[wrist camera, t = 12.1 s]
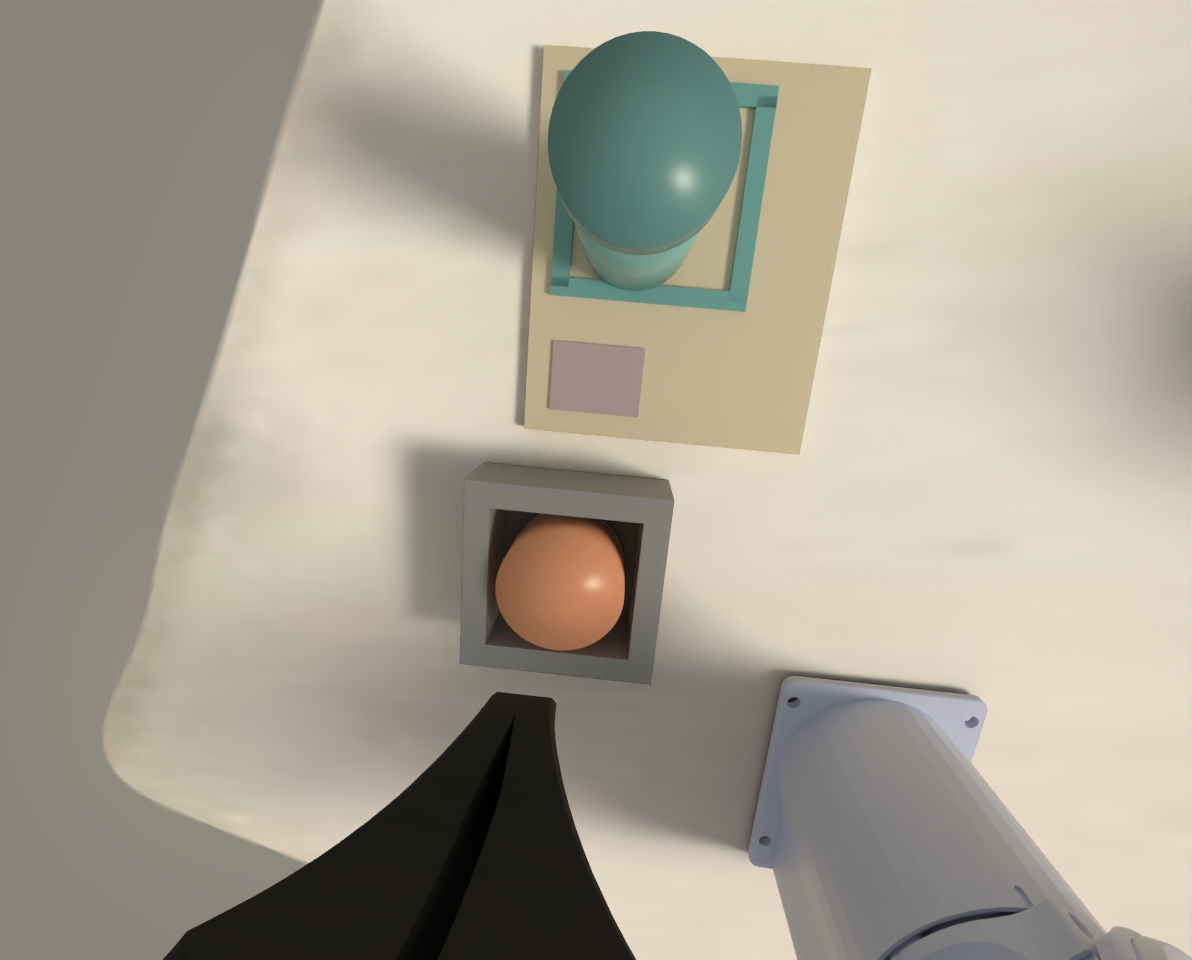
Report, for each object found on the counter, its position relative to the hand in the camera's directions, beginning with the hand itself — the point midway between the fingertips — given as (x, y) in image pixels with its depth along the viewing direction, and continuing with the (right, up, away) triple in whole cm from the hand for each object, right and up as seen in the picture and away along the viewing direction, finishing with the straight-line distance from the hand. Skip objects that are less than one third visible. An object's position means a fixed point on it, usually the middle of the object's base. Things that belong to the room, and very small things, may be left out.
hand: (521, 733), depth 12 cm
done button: (+1, +2, +9) cm, 9 cm away
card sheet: (+5, +13, +7) cm, 15 cm away
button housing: (+1, +2, +10) cm, 10 cm away
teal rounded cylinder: (+3, +14, +6) cm, 15 cm away
